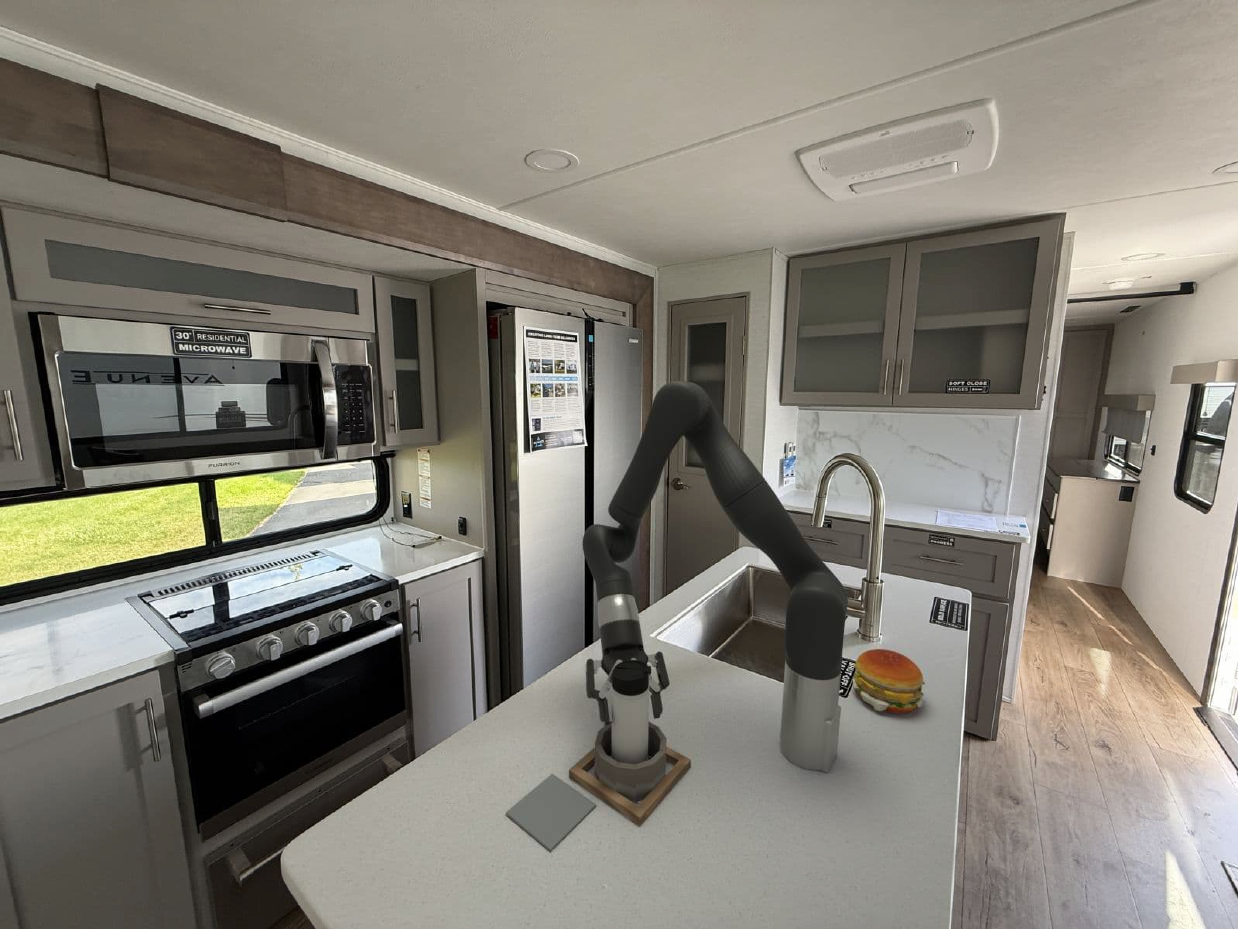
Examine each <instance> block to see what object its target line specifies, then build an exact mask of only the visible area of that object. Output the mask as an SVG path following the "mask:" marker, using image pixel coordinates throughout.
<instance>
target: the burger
mask: <svg viewBox="0 0 1238 929" xmlns="http://www.w3.org/2000/svg"><path fill="white" fill-rule="evenodd" d="M853 669H855V671H854V675H853V677H852V687H853V688H854V690H856V692H857V694H858V695H859V697H860V698H861V699H862V700H863V701H864V702H865V703H867V704H869V705H870V706H872V707H873V708H874V710H875V711H876V712H877V711H878V712H882V711H884V712H889V713H893V714H906V713H911V712H912V711H914V710H915V709H917V708H921V707H923V703H924V701H923V696H925V694H924V693H923V692H922V688H923V685H926V683H925V681H924V676H923V673H922V671H921V669H920V668H919V666H918V665H917V664H916V663H915V662H914V661H913V660H912V659H910V658H909V657H908V656H906V655H904V654H902V653H900V652H897V651H894V650H890V649H886V648H885V649H884V648H874V649H870V650H869V649H868V650H866V651H864V652H862V653H861V654H860V655H858V657H857V659H856V661H855V664H853Z"/></svg>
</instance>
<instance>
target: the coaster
mask: <svg viewBox="0 0 1238 929" xmlns="http://www.w3.org/2000/svg"><path fill="white" fill-rule="evenodd" d="M596 807H597V803H595V802H594V801H592V800H591V799H590V798H589V797H587V796H585V795H584V794H582V793H581V792H580V791H578V790H577V789H575V788H574V787H572V785H569V784H568V783H567V782H565V781H563V779H561V778H559V777H558V776H557V775H555V774H553V773H550V774H549V776H547V777H546V778H545V779H543V781H542V782H540V783H539V784H538V785H537V786H535V787H534V788H533V789H532V790H531V791H529V792H528V793H527V794H526V795H525V796H524V797H523V798H521V799H520V800H519V801H518V802H516V803H515V804H514V805H512V806H511V807H510V808H508V809H507V811H505V815H506V817H508V818H509V819H511V821H513V822H514V823H515V824H516V825H517V826H519V827H520V828H521V829H523V830H524V832H526V833H527V834H528V835H529V836H531V837H532V839H534V840H536V842H537V843H539V844H540V845H542V847H544V848H545V849H546V850H548V851H549V853H551V852H552V851H553V850H555V849H556V847H557V846H558V845H560V843H561V842H562V841H563V840H564V839H566V837H567V836H569V835H570V833H572V831H574V829H575V828H577V827H578V825H580V823H582V821H583V820H585V819H586V817H587V816H588V815H589V814H590V813H591V812H592V811H593V810H594V809H596Z"/></svg>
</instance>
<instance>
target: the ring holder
mask: <svg viewBox="0 0 1238 929" xmlns="http://www.w3.org/2000/svg"><path fill="white" fill-rule="evenodd" d="M667 744H668V743H667V737H666V735H665V734H664V732H663V731H662V730H661V728H660V727H659V726H658V725H656V724H654V723H653V722H651V721H649V722H648V758H651V759H648V761H645V762H641V763H638V764H628V763H620V762H617V761H616V760H614V759H612V720H610V724H609V725H604V726H602V727H601V728H600V729H599V730H598V731H597V733H596V738H595V742H594V747H593V748H592V749H591V750H590V751H589V752H588V753H586V754H585V755H584V756H583V757H581V759H579V760H578V761H577V762H576V763H575V764H573V765H572V766H571V767H570V768H569V769H568V778H569V779H571V780H572V781H573V782H575V783H576V784H578V785H580V786H581V787H583V789H585V790H587V791H588V792H589V793H591V794H593V795H594V796H596V797H597V798H598V799H600V800H601V801H603V802H605V803H606V804H607V805H609V807H611V808H613V809H615V810H616V811H617V812H619V813H620V814H622V815H623V816H625V817H626V818H627V819H629V820H631V821H632V822H634V824H636V825H637V826H640V827H641V825H642V824H643V823H644V822H645V820H647V818H648V817H649V816H650V815H651V814H652V813H653V812H654V810H655V809H656V808H657V807H658V806H659V804H661V802H662V801H663V800H664V799H665V798H666V796H667V795H668V794H669V793H670V792H671V791H672V789H673V788H674V787H675V786H676V785H677V783H679V781H681V779H682V778H683V777H684V775H685V774H686V773H687V772H688V771H689V770H690V769H691V766H692V765H691V764H692V760H691V758H689V757H687V756H685V755H684V754H682V753H680V752H678V751H676V750H674V749H672V748H670V747H669V746H667ZM667 763H669V764H671V765H672V768H670V770H668V772H667V771H666V770H667ZM592 767H594V776H593V775H592V774H591V773H589V772H588V771H589V770H590V769H592ZM666 772H667V773H666ZM640 801H641V802H640ZM638 802H640V803H639V804H636V803H638Z"/></svg>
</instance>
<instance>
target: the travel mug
mask: <svg viewBox="0 0 1238 929" xmlns="http://www.w3.org/2000/svg"><path fill="white" fill-rule="evenodd" d="M648 673H649V675H648ZM651 674H652V665H648V663H647V664H646V663H645V662H643V661H640V660H627V661H623V662H621V663H619V664H617V665H616V666H615V668H614V669H613V671H612V685H611V721H612V756H611V758H612V759H614V760H616V761H617V762H620V763H628V764H638V763H641V762H645V761H648V760H649V756H648V722H650V721H649V719H650V718H649V716H650V715H649V714H650V712H649V710H650V708H649V706H650V691H649V676H650V675H651ZM651 676H652V675H651Z"/></svg>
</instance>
